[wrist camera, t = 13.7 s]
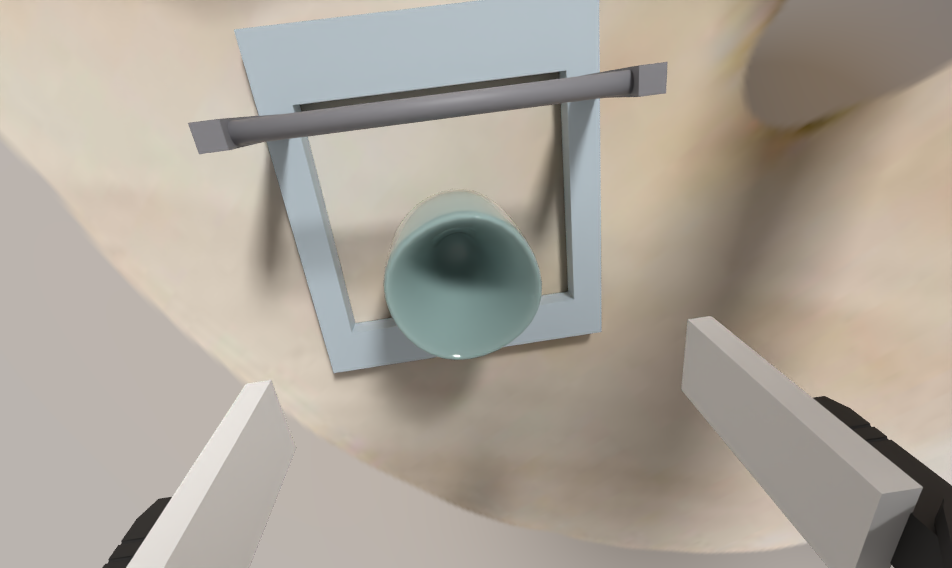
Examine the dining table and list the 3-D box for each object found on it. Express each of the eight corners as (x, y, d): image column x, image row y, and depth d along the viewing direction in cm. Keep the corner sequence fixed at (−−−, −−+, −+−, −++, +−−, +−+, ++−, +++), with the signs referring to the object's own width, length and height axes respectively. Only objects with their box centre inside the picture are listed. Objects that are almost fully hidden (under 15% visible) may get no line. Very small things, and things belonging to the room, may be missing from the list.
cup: (433, 305, 32) (434, 385, 23) (375, 213, 30) (351, 264, 20) (527, 255, 32) (567, 318, 23) (478, 157, 29) (500, 183, 20)
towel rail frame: (244, 33, 25) (136, -7, 16) (589, -8, 26) (678, -69, 17) (337, 361, 34) (302, 460, 24) (594, 322, 34) (654, 403, 25)
